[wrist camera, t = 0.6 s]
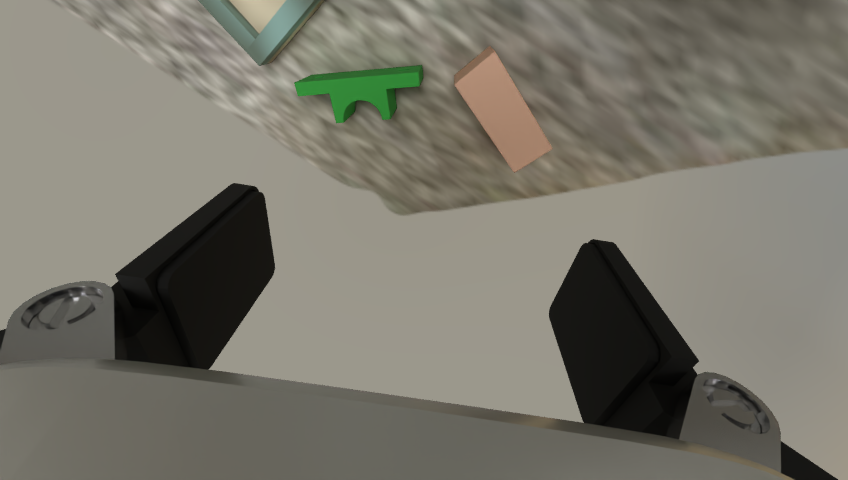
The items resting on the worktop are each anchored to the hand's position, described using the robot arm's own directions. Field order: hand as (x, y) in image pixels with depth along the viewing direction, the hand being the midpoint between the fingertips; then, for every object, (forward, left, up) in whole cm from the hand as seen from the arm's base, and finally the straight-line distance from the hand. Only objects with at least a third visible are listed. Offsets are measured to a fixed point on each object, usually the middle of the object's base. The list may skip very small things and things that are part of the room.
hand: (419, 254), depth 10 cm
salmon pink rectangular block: (-3, +5, -28) cm, 28 cm away
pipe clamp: (+6, -4, -28) cm, 29 cm away
